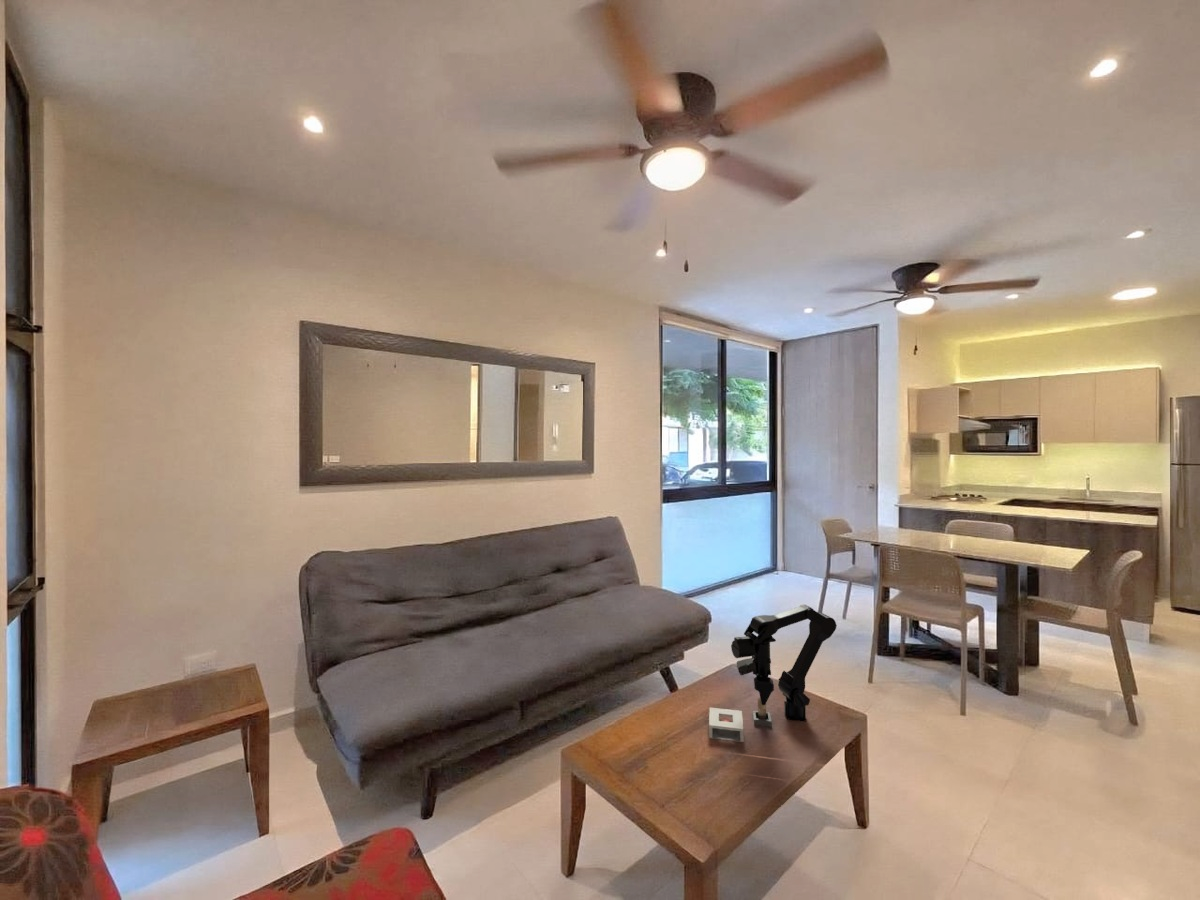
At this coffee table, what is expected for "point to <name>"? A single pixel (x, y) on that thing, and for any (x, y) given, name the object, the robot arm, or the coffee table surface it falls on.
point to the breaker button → (725, 720)
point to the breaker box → (726, 725)
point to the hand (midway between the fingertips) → (762, 697)
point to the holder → (762, 721)
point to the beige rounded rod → (761, 710)
